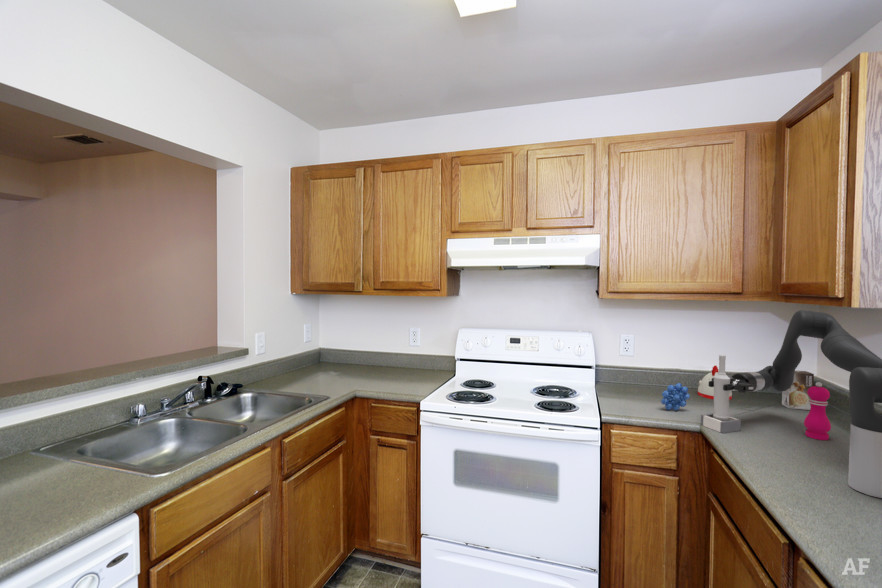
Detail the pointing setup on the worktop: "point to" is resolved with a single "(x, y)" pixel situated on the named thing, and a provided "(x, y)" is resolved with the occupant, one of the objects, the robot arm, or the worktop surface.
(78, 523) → the worktop surface
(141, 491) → the worktop surface
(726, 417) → the bottle
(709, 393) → the kitchen timer
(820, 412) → the pepper mill
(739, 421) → the socket collar
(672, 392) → the blue bumpy cluster
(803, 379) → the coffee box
